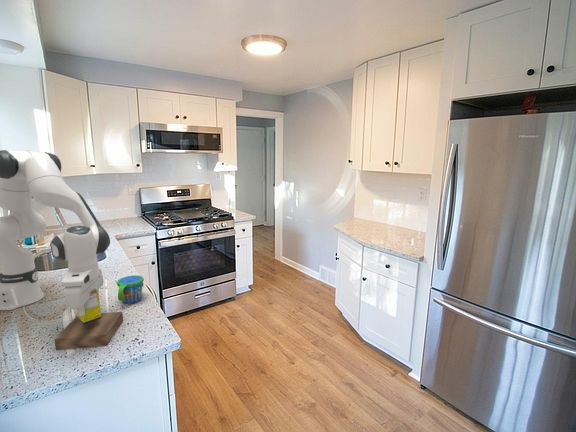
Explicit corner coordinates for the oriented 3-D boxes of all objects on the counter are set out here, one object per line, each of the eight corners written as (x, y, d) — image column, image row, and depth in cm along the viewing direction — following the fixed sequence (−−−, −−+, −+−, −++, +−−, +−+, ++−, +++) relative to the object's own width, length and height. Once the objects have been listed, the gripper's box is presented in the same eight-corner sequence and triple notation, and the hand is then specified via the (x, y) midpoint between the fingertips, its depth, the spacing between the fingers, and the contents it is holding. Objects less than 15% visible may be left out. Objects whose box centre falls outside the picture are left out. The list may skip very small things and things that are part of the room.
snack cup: (134, 291, 147) (132, 272, 145) (153, 294, 145) (151, 273, 143) (109, 307, 132) (106, 285, 130) (130, 310, 130) (128, 287, 128)
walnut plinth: (56, 349, 104) (54, 339, 103) (79, 324, 119) (77, 315, 118) (107, 345, 106) (105, 334, 105) (123, 320, 122) (122, 311, 121)
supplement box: (96, 313, 116) (92, 286, 114) (102, 318, 112) (98, 290, 110) (77, 319, 111) (73, 291, 109) (83, 325, 107) (79, 296, 105)
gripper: (87, 262, 117) (92, 295, 120) (58, 284, 98) (64, 323, 100) (105, 261, 119) (109, 294, 121) (80, 283, 99) (85, 322, 101)
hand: (89, 308), depth 111 cm, fingers closed on supplement box, 8 cm apart
